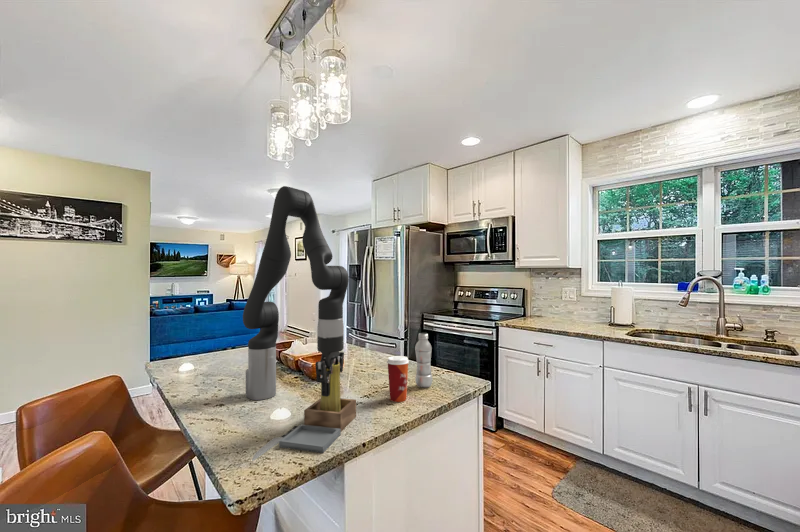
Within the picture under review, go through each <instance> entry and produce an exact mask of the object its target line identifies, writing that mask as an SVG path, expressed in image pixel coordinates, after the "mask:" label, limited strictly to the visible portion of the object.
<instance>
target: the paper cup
mask: <svg viewBox="0 0 800 532" xmlns="http://www.w3.org/2000/svg"><path fill="white" fill-rule="evenodd" d="M409 363H410V360H409V358H408V356H406V355H405V356H404V355H392V356H388V358H387V360H386V364H387V372H388V373H387V374H388V385H389V386H388V388H389V389H388V390H389V399H390V402H394V403H402V402H406V400H407V395H408V378H409V376H408V375H409Z"/></svg>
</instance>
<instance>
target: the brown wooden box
mask: <svg viewBox="0 0 800 532" xmlns="http://www.w3.org/2000/svg"><path fill="white" fill-rule="evenodd" d="M340 400H341V411H339V412H333V411H323V410H320V402H321V397H320V398H319V399H318V400H317V401H315V402H314V403H312V404H311V405H310V406H308V407H307V408H305V409H304V411H303V412H304V413H303V414H304V415H303V416H304V417H303V421H304V424H303V425H312V426H321V427H330V428H339V429H341V433H342V432H343V431H344V430H345V427H346V426H348V425H350V424H351V423H352V422H353V421H354V419H356V417H357V399H352V398H341V397H340ZM346 428H347V427H346Z"/></svg>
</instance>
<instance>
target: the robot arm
mask: <svg viewBox="0 0 800 532" xmlns="http://www.w3.org/2000/svg"><path fill="white" fill-rule="evenodd" d="M272 207H273V208H272V213H271V219H270V224H269V229H268V233H267V237H266V238H265V239H266V240H265V243H264V246H263V250H262V253H261V256H260V260H259V263H258V268H257V273H256V274H255V279H254V282H253V284H252V288H251V291H250V293H249V295H248V298H247V301H246V303H245V305H244V308H243V313H242V322H243V325H244V327H245V328H246V329H249V330H258V329H259V332H258V333H257V334H256V335H255V336H253V337H251V338H250V339H249V340H248V343H247V352H248V354H247V357H248V358H247V360H248V362H247V366H248V367H247V369H246V370H245V398H248V399H249V400H253V401H262V400H266V399H267V400H268V399H270V398H273V397H274V396H277V340H278V338H279V321H280V319H279V318H280V317H279V314H280V312H279V308H278V305H277V304H276V303H275V302H273V301H266V300H267V297H268V296H269V294H270V292H271V291H272V290H273V289H274V288H275V287H276V286H277V285H278V283H280V282H281V280H282V279H283V278H284V277H285V275H286V274H287V270H288V269H289V265H290V262H291V257H292V253H291V252H292V251H291V248H290V244H289V241H288V238H287V237H288V236H287V233H286V227H287V221H288V217H294V218H298V219H299V218H300V220H301V221H302V223H303V225H304V232H303V234H302V239H301V241H302V246H303V249H304V251H305V253H306V256H307V258H308V260H309V264H310V265H309V266H310V274H311V282H312V284H313V285H314V287H316V289H319V290H321V291H327V290H329V291H330V293H329V294H328V296H326V297H324V298H321V299H320V300H318V306H317V308H318V311H317V313H318V315H317V316H318V318H317V320H318V321H317V332H316V334H317V337H316V341H317V344H316V345H317V346H316V347H317V349H316V350H317V351H318V352H320V353H321V357H320V361H316V362H315V364H314V365H315V375H316V377H315V378H316V383H320V384H321V383H322V396H326V397H328V396H329V395H330V383H329V382H330V376H331V375H332V374H333V365H337V364H339V363H340V373H342V372H343V371H344V359H345V352H344V351H343V350H344V342H345V340H344V338H345V337H344V336H345V335H344V328H345V327H344V325H345V324H344V314H343V313H344V307H343V305H344V302H345V297H346V294H347V290H348V288H349V287H348V286H349V281H350V278H349V277H350V276H349V273H348V271H347V269H346V268H345V267H344V266H342V265H328V264H329V263H331V262H332V260H333V253H332V250H331V248H330V246H329V245H328V242H327V240H326V238H325V236H324V234H323V232H322V229H321V224H320V220H319V218H318V214H317V210H316V207H315V203H314V200H313V197H312V196H311V194H310V193H309V192H307V191H305V190H303V189H299V188H295V187H291V186H286V185H283V186H281V187H280V188H279V189H278V191H277V192H276V194H275V198H274V203H273V206H272ZM326 369H330V370H329V371H326ZM326 374H327V376H326Z"/></svg>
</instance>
